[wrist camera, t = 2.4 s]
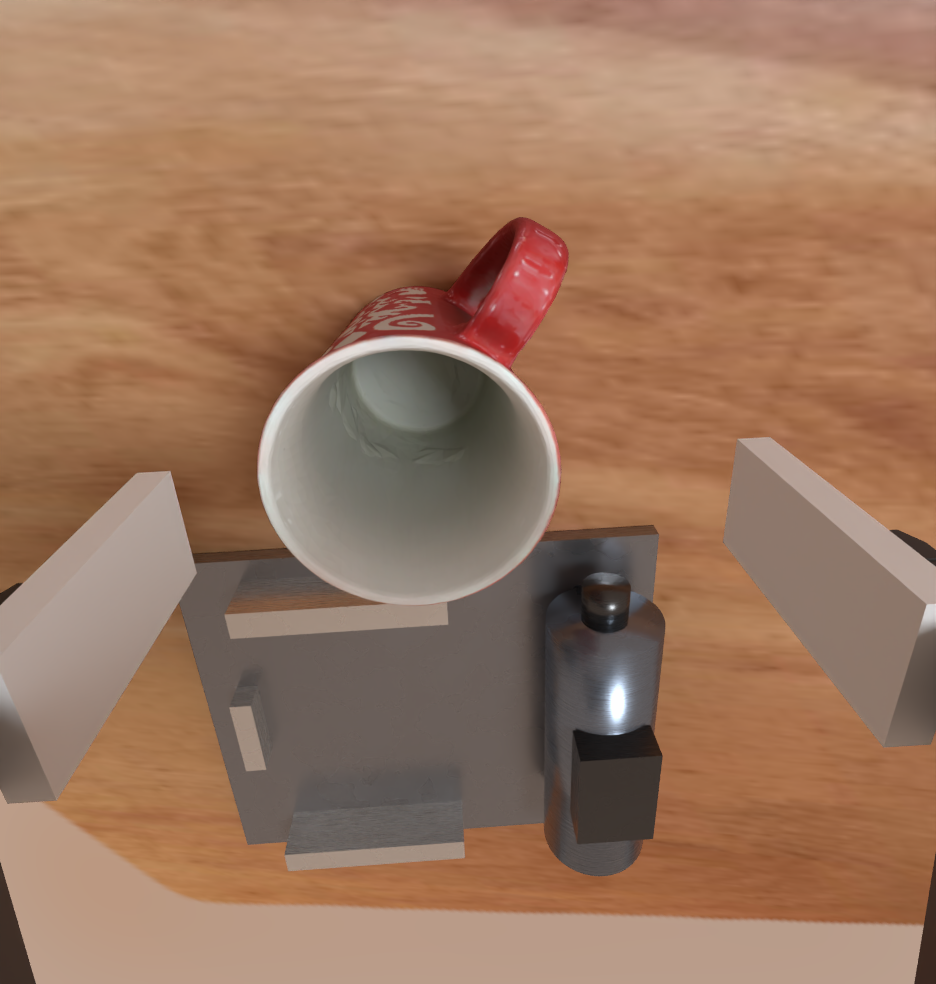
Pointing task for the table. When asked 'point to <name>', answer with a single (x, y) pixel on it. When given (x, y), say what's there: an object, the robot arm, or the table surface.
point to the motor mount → (438, 705)
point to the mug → (422, 435)
